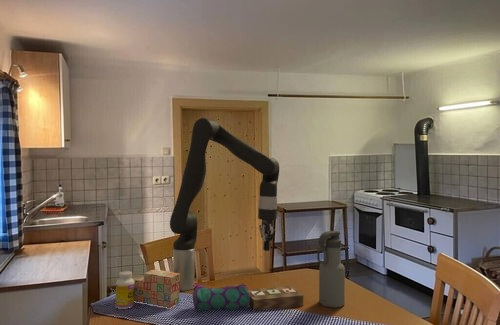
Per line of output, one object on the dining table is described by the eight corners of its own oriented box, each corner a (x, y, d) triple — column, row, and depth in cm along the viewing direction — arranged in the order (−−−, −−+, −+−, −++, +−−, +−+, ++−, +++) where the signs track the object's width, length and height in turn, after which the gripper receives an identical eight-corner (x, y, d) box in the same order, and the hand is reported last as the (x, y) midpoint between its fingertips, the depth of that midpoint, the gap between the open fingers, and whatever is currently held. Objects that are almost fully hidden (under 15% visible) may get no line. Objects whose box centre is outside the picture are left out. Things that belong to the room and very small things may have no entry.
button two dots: (285, 298, 147) (285, 291, 147) (281, 295, 151) (281, 288, 151) (296, 297, 148) (296, 290, 148) (291, 294, 152) (291, 287, 153)
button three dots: (254, 301, 143) (254, 294, 143) (250, 298, 147) (250, 290, 147) (264, 300, 144) (265, 293, 145) (261, 297, 149) (261, 289, 149)
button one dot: (270, 300, 145) (270, 293, 145) (266, 296, 149) (266, 289, 149) (280, 299, 146) (280, 292, 146) (276, 295, 151) (276, 288, 151)
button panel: (253, 311, 139) (253, 300, 139) (244, 300, 151) (244, 290, 151) (303, 305, 145) (303, 295, 145) (290, 295, 156) (290, 285, 157)
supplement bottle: (128, 311, 138) (128, 275, 138) (111, 309, 139) (112, 274, 140) (137, 304, 145) (137, 270, 145) (121, 303, 146) (122, 269, 146)
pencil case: (246, 303, 147) (246, 278, 147) (250, 312, 138) (250, 285, 138) (192, 306, 144) (192, 281, 144) (192, 315, 135) (193, 288, 135)
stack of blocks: (124, 302, 148) (124, 270, 148) (134, 297, 153) (135, 266, 154) (170, 310, 139) (170, 276, 140) (179, 304, 145) (180, 272, 145)
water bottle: (329, 310, 141) (329, 234, 141) (313, 301, 149) (313, 230, 150) (349, 305, 145) (350, 233, 146) (333, 297, 154) (333, 229, 155)
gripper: (253, 205, 157) (252, 247, 157) (264, 209, 144) (262, 254, 144) (270, 205, 159) (269, 246, 159) (282, 209, 146) (281, 254, 146)
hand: (266, 250), depth 152 cm, fingers closed
